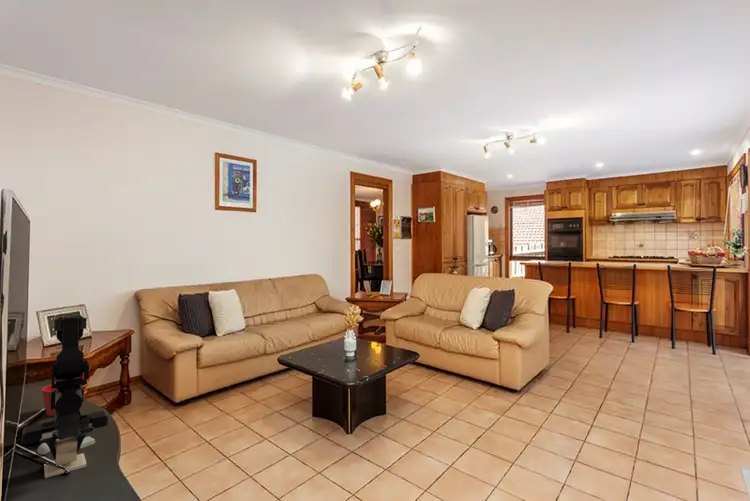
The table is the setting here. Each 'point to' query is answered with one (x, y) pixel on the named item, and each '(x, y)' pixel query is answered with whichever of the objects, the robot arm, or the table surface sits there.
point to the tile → (87, 441)
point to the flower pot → (48, 400)
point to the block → (66, 450)
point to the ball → (43, 449)
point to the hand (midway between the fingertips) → (65, 456)
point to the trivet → (69, 466)
